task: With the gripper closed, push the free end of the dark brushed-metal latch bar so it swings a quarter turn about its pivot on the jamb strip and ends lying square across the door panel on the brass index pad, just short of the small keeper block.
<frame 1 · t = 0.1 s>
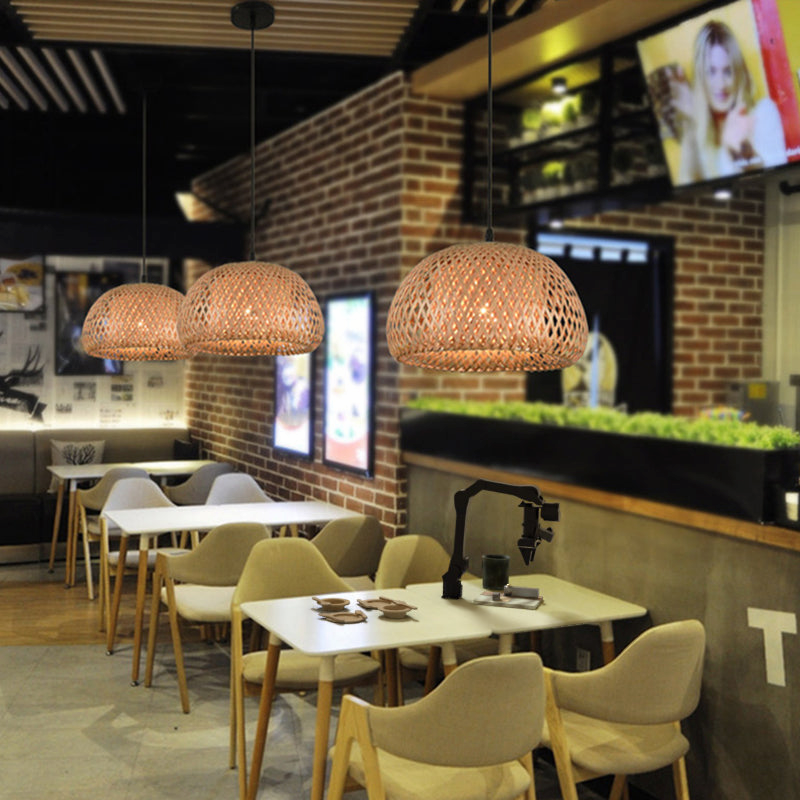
hand: (529, 563, 369), 15 cm above the table, fingers open, 9 cm apart
tableware set: (362, 613, 349), on the table
door mock-up board: (509, 601, 373), on the table
latch bar: (521, 590, 376), point 3 cm above the table, hinge at 0.0°
mug: (492, 587, 399), on the table
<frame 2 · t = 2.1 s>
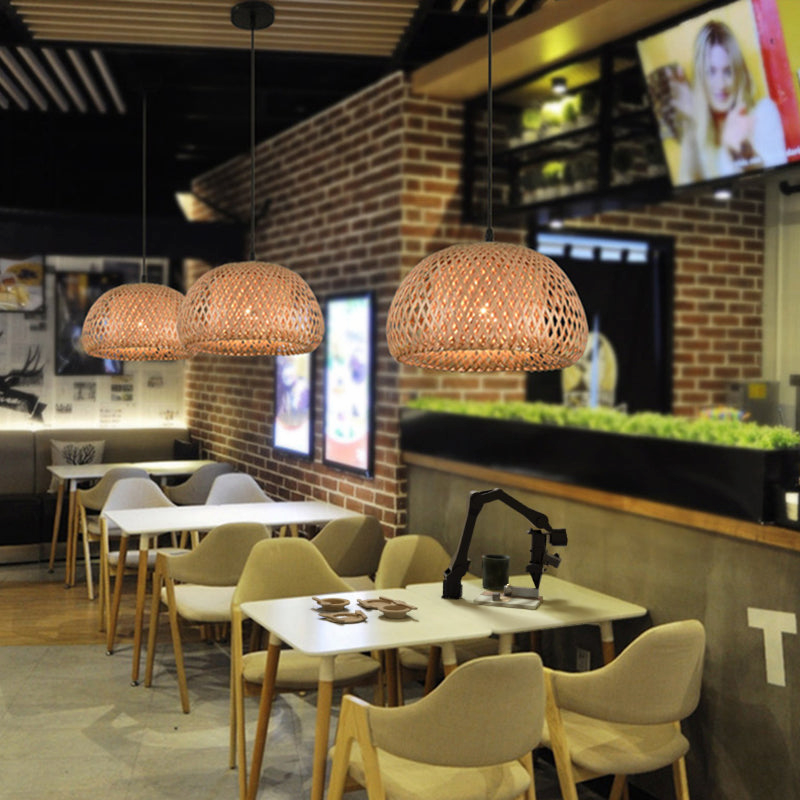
hand: (537, 588, 381), 3 cm above the table, fingers closed
nothing on the table moved.
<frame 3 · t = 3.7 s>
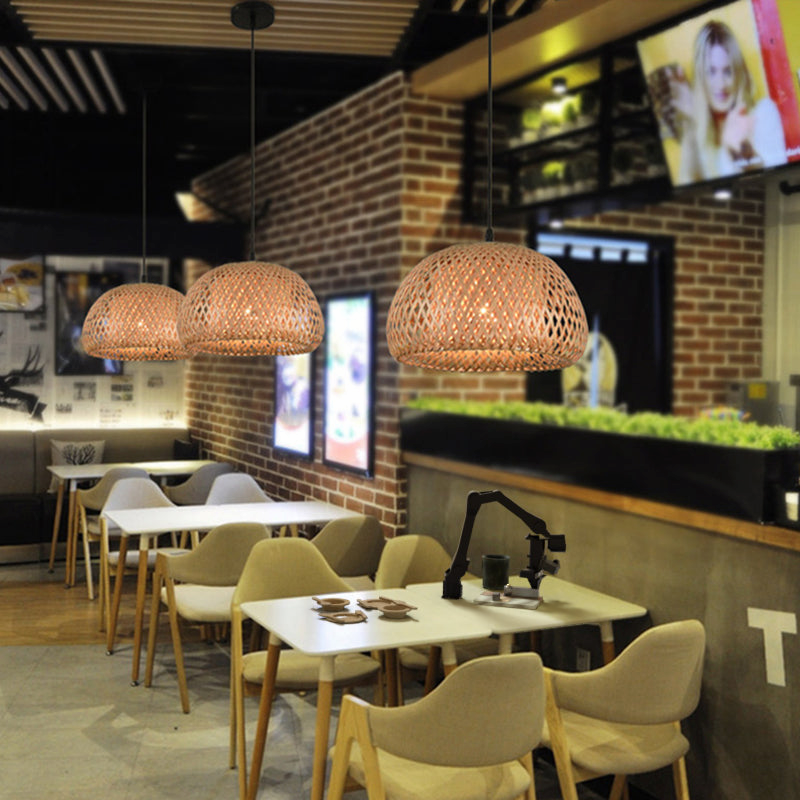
hand: (535, 594, 377), 2 cm above the table, fingers closed
latch bar: (521, 590, 376), point 3 cm above the table, hinge at 0.1°, touching gripper
everything else where it was.
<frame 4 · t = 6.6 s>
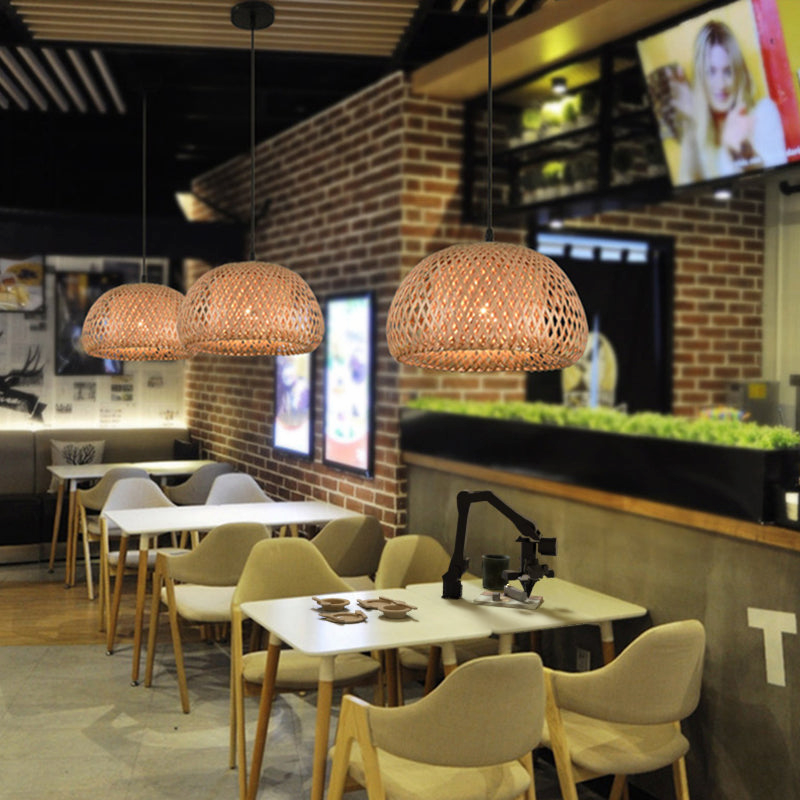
hand: (527, 597, 370), 2 cm above the table, fingers closed
latch bar: (514, 592, 373), point 3 cm above the table, hinge at 50.4°, touching gripper
everything else where it was.
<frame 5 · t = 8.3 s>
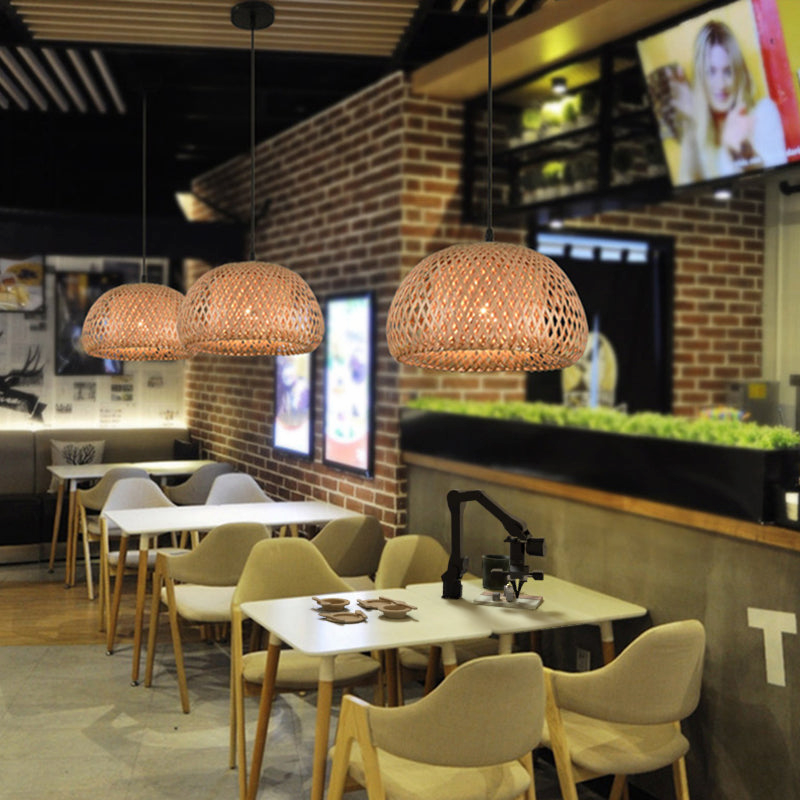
hand: (517, 598, 368), 2 cm above the table, fingers closed
latch bar: (509, 592, 373), point 3 cm above the table, hinge at 77.4°, touching gripper
everything else where it was.
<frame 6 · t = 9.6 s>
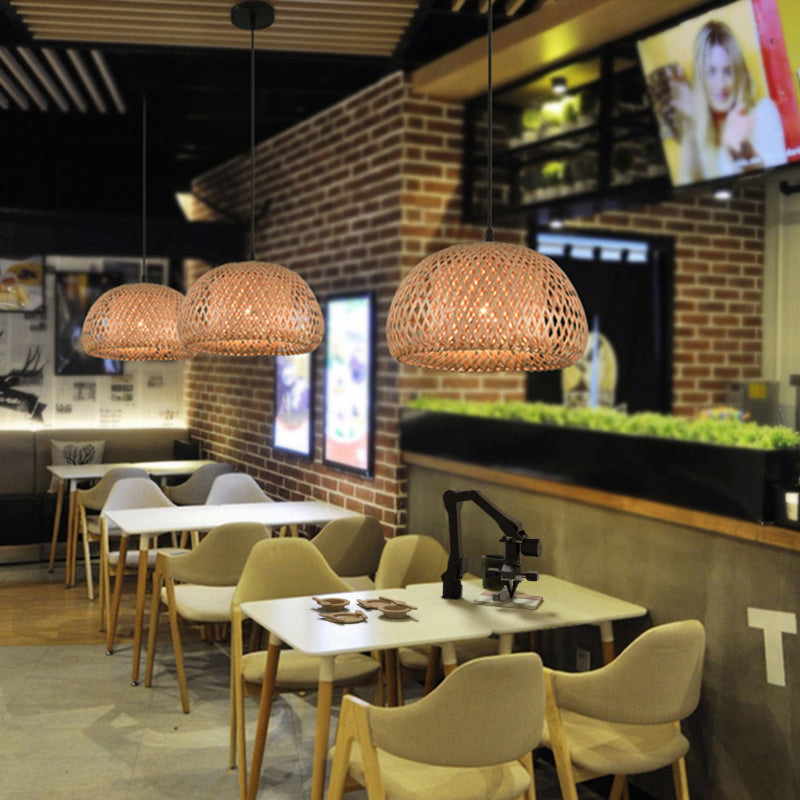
hand: (511, 598, 367), 2 cm above the table, fingers closed
latch bar: (506, 592, 373), point 3 cm above the table, hinge at 89.2°, touching gripper
everything else where it was.
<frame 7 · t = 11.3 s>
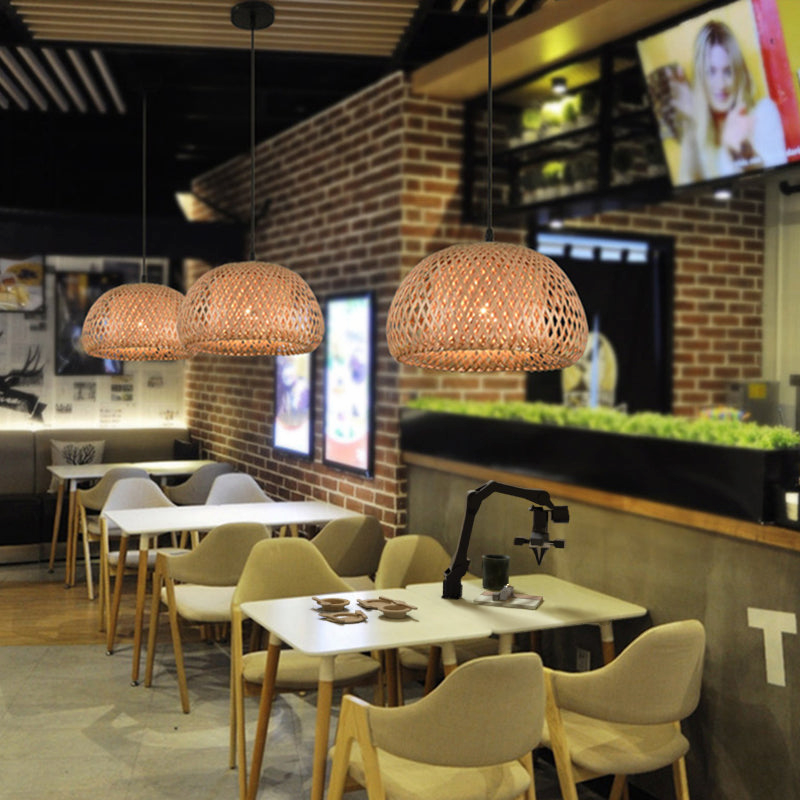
hand: (539, 565, 380), 12 cm above the table, fingers closed
latch bar: (506, 592, 373), point 3 cm above the table, hinge at 89.4°
everything else where it was.
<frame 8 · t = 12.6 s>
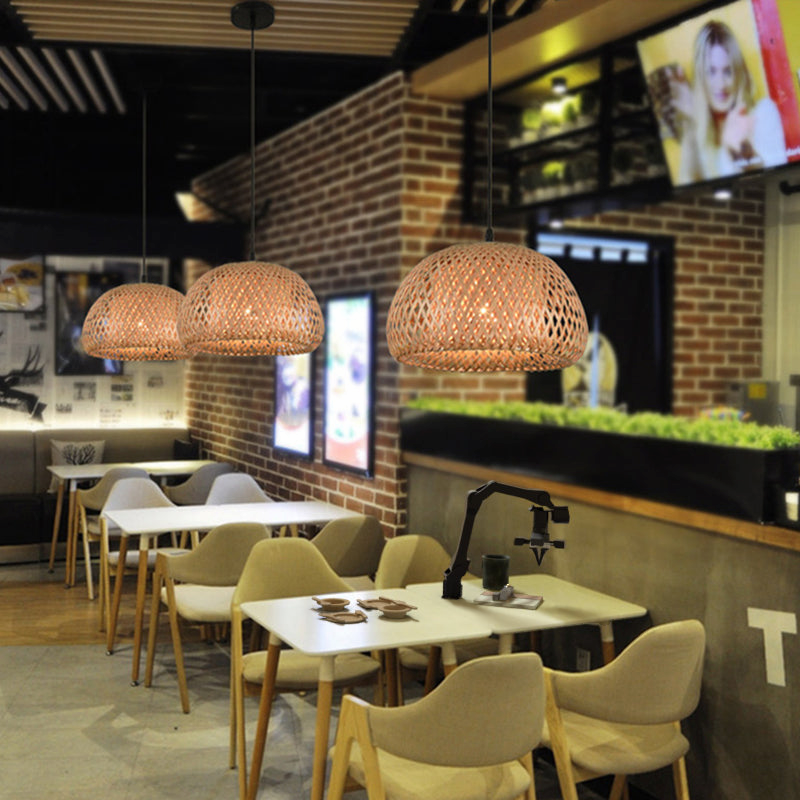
hand: (539, 565, 380), 12 cm above the table, fingers closed
nothing on the table moved.
at the end: latch bar at +89° (first picture: +0°) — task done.
